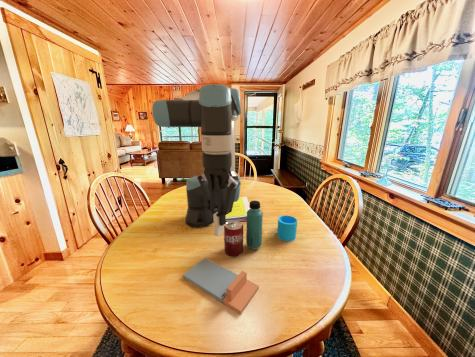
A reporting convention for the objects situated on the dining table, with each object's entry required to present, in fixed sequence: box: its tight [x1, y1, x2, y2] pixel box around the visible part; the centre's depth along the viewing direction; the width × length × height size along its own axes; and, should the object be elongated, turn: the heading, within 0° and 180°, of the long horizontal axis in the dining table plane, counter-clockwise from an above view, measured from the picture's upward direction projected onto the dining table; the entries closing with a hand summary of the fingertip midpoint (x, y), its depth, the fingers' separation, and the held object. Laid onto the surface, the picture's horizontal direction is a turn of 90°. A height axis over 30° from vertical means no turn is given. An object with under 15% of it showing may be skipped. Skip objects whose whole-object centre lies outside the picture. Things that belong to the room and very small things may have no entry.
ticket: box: [182, 257, 239, 303], centre depth 63 cm, size 16×10×2 cm, turn 56°
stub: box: [222, 270, 260, 316], centre depth 56 cm, size 6×10×5 cm, turn 146°
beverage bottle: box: [245, 200, 264, 250], centre depth 76 cm, size 6×7×20 cm
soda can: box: [223, 220, 244, 258], centre depth 74 cm, size 7×7×12 cm
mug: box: [276, 214, 298, 242], centre depth 87 cm, size 12×8×8 cm
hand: (219, 233), depth 56 cm, fingers closed
